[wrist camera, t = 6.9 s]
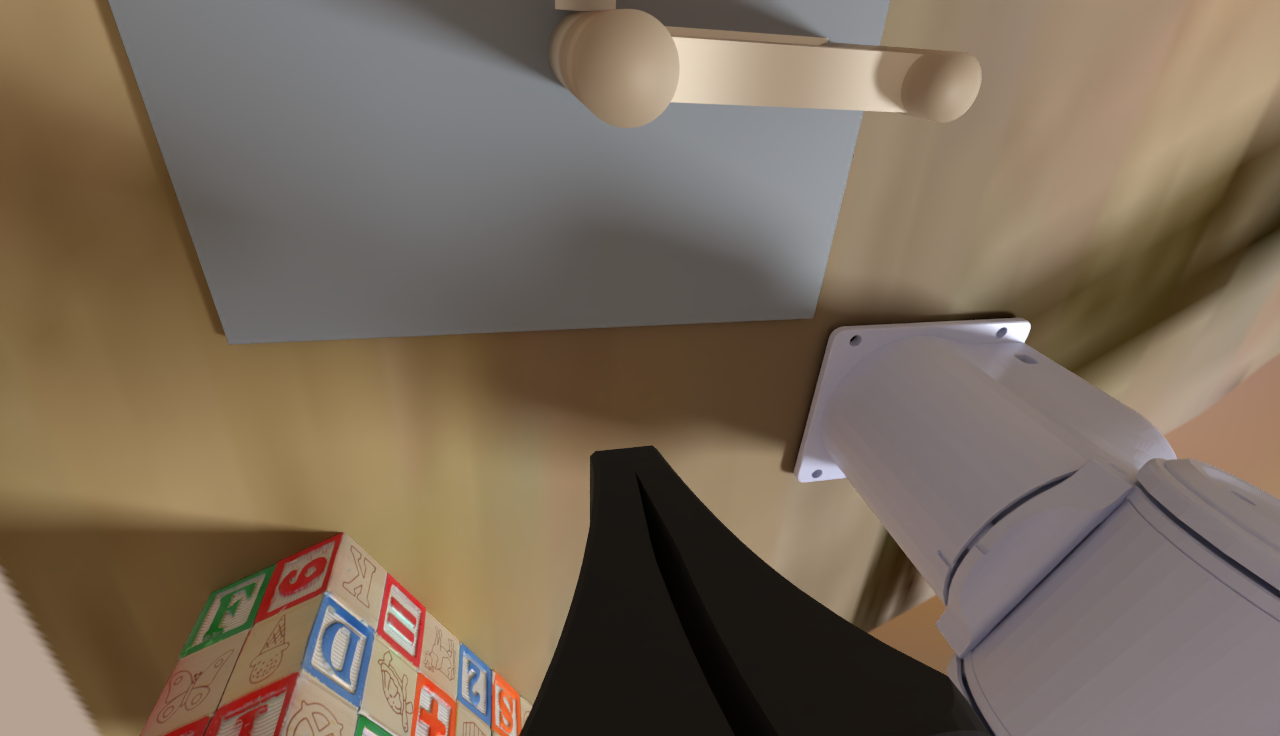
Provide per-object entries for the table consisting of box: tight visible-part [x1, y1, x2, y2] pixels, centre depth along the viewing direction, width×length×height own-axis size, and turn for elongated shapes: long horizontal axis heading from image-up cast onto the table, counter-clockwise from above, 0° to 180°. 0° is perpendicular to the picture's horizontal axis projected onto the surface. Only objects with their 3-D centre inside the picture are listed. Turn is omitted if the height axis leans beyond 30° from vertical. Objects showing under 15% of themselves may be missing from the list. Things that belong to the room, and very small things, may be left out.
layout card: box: [108, 0, 890, 345], centre depth 16 cm, size 20×17×1 cm
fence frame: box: [548, 9, 982, 128], centre depth 14 cm, size 9×2×6 cm, turn 86°
